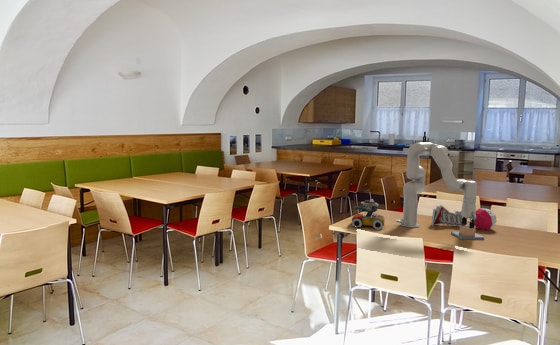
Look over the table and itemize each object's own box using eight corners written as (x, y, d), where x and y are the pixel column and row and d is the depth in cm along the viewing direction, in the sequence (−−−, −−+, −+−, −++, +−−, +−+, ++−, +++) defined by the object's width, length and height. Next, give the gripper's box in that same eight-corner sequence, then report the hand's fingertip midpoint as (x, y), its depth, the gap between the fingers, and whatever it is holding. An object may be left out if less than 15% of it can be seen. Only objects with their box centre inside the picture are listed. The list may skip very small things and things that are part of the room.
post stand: (461, 239, 269) (461, 227, 268) (450, 233, 283) (451, 222, 282) (484, 239, 270) (484, 227, 269) (472, 234, 284) (473, 222, 283)
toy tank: (353, 222, 312) (354, 195, 310) (384, 224, 307) (385, 197, 304) (350, 227, 295) (352, 199, 292) (383, 230, 289) (385, 201, 287)
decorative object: (468, 207, 300) (486, 202, 303) (466, 225, 307) (483, 219, 310) (484, 218, 287) (502, 212, 291) (481, 236, 294) (499, 230, 298)
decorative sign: (464, 229, 307) (468, 208, 305) (465, 230, 304) (469, 209, 302) (430, 224, 309) (434, 203, 307) (431, 225, 306) (435, 204, 304)
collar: (464, 235, 272) (464, 228, 272) (459, 232, 279) (459, 225, 279) (475, 235, 273) (475, 228, 272) (469, 233, 280) (470, 225, 279)
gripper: (457, 197, 282) (455, 223, 284) (470, 202, 265) (468, 229, 267) (468, 198, 282) (466, 223, 284) (482, 202, 265) (480, 229, 267)
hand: (467, 226), depth 275 cm, fingers open, 9 cm apart
